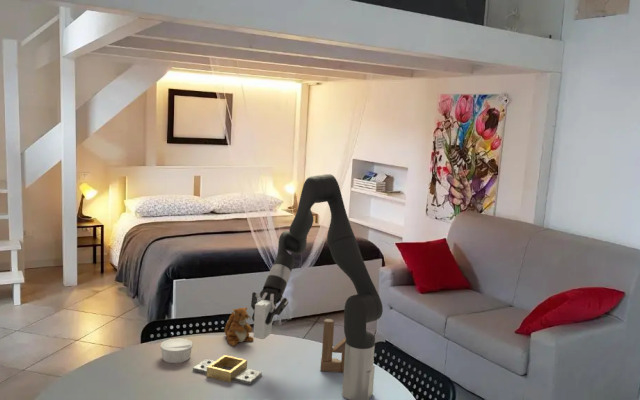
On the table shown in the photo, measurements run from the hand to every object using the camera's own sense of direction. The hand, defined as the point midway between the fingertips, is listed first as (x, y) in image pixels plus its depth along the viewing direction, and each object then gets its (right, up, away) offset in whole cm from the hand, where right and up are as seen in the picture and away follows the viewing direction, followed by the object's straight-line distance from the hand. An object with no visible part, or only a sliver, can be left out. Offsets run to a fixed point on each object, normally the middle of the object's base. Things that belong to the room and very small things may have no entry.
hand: (260, 322), depth 187 cm
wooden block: (+26, -18, +5) cm, 32 cm away
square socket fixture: (-11, -17, -3) cm, 20 cm away
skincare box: (0, -6, +3) cm, 6 cm away
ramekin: (-31, -15, +7) cm, 35 cm away
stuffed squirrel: (-13, -13, +28) cm, 33 cm away
